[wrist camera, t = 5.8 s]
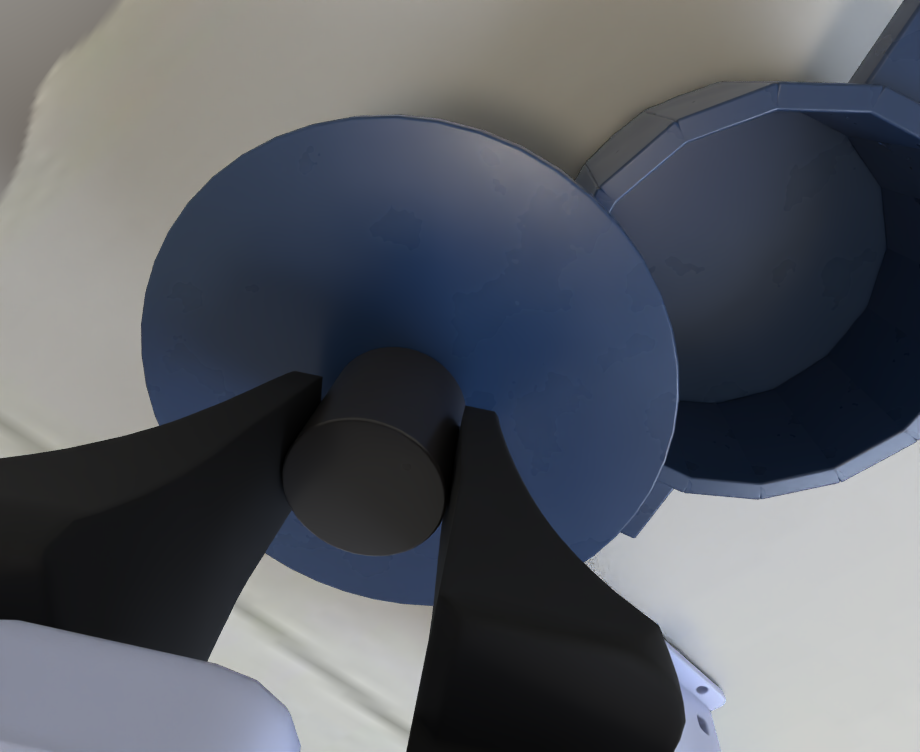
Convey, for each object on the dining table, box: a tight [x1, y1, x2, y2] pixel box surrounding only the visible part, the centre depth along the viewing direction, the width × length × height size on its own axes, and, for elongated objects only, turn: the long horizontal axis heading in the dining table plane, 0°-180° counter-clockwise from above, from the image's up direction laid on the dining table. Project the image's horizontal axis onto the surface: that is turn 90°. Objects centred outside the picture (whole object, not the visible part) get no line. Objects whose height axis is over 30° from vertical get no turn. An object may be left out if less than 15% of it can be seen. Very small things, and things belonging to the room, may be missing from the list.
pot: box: [575, 0, 920, 538], centre depth 18 cm, size 11×17×5 cm
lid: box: [141, 114, 679, 606], centre depth 13 cm, size 12×12×4 cm
